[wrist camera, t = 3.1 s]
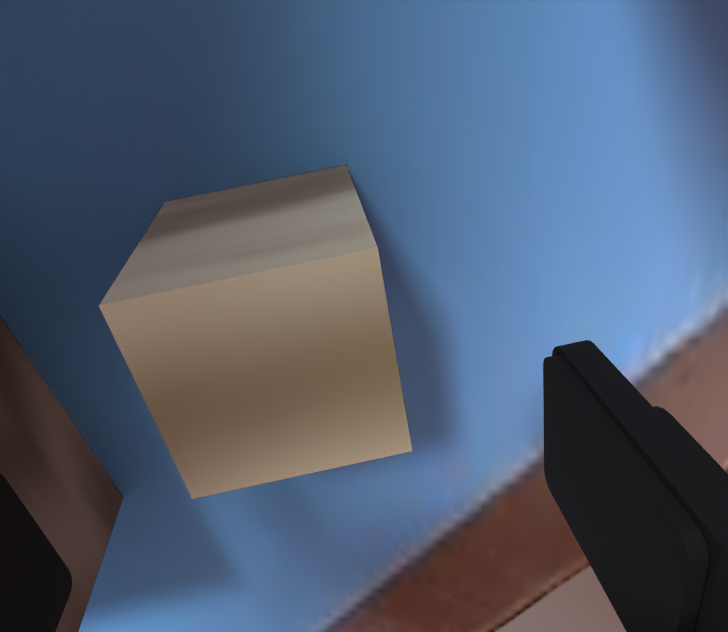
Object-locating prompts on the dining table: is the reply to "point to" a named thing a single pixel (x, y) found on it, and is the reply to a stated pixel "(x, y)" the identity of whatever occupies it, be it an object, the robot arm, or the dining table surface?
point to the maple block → (262, 333)
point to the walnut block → (54, 474)
